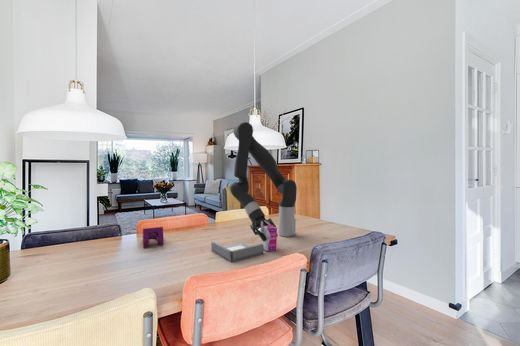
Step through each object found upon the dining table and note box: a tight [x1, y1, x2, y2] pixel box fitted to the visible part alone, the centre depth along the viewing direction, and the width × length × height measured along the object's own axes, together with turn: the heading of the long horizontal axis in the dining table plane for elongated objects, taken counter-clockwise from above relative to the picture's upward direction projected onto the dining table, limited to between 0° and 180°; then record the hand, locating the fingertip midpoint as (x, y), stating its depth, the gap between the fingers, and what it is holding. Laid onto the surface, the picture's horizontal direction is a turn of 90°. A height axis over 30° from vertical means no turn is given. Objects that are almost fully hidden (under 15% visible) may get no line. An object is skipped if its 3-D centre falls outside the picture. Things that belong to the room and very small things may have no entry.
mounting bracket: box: [142, 226, 164, 248], centre depth 140 cm, size 10×8×18 cm
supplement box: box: [261, 225, 278, 252], centre depth 130 cm, size 6×6×12 cm
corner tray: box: [210, 241, 264, 263], centre depth 126 cm, size 18×18×4 cm
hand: (271, 238), depth 130 cm, fingers open, 8 cm apart
